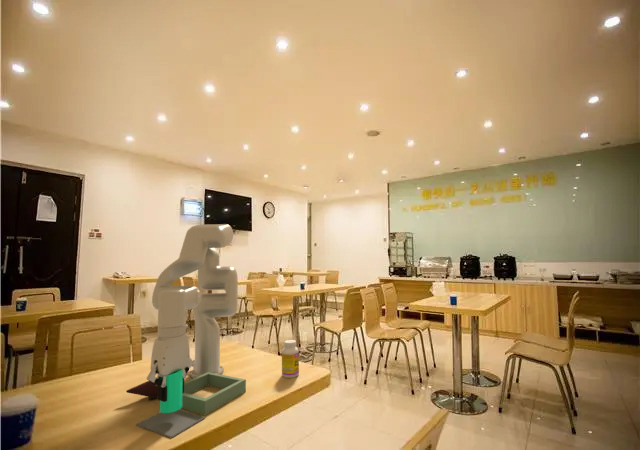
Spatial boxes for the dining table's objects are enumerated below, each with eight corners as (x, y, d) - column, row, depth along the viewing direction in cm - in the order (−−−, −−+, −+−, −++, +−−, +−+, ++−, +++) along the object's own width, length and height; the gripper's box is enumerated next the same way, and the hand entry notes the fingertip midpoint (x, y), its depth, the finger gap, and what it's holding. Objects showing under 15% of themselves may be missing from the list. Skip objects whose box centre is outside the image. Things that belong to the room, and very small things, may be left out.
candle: (187, 404, 95) (187, 362, 96) (171, 414, 89) (172, 369, 90) (170, 402, 96) (171, 360, 98) (154, 411, 91) (155, 367, 92)
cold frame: (165, 403, 104) (165, 390, 105) (208, 383, 120) (208, 371, 120) (205, 415, 96) (205, 401, 96) (245, 391, 112) (245, 379, 112)
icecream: (127, 388, 102) (178, 381, 109) (127, 374, 108) (176, 369, 116) (124, 408, 102) (175, 400, 110) (125, 394, 109) (173, 387, 116)
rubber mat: (136, 425, 91) (136, 423, 91) (170, 408, 101) (170, 407, 101) (171, 438, 84) (171, 436, 84) (204, 418, 94) (204, 417, 94)
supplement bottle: (296, 378, 122) (295, 343, 123) (279, 378, 123) (279, 343, 124) (301, 372, 128) (300, 339, 129) (285, 371, 130) (284, 338, 131)
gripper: (187, 324, 104) (186, 383, 102) (136, 337, 89) (134, 406, 87) (203, 326, 100) (203, 387, 99) (153, 340, 85) (152, 412, 84)
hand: (171, 395), depth 93 cm, fingers closed on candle, 4 cm apart
